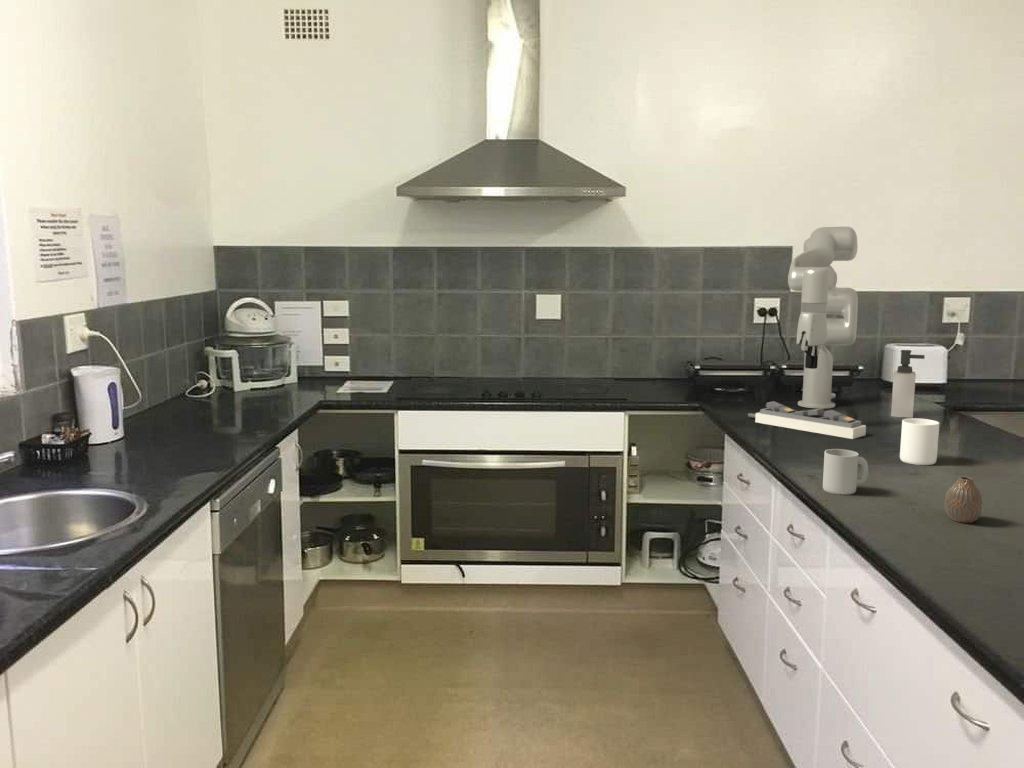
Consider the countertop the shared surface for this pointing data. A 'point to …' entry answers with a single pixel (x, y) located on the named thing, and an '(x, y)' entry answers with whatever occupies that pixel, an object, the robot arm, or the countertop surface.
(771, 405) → the rocker
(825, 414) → the rocker
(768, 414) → the power strip
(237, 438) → the countertop surface
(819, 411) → the rocker
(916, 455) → the mug
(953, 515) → the vase
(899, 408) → the soap dispenser
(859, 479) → the cup
